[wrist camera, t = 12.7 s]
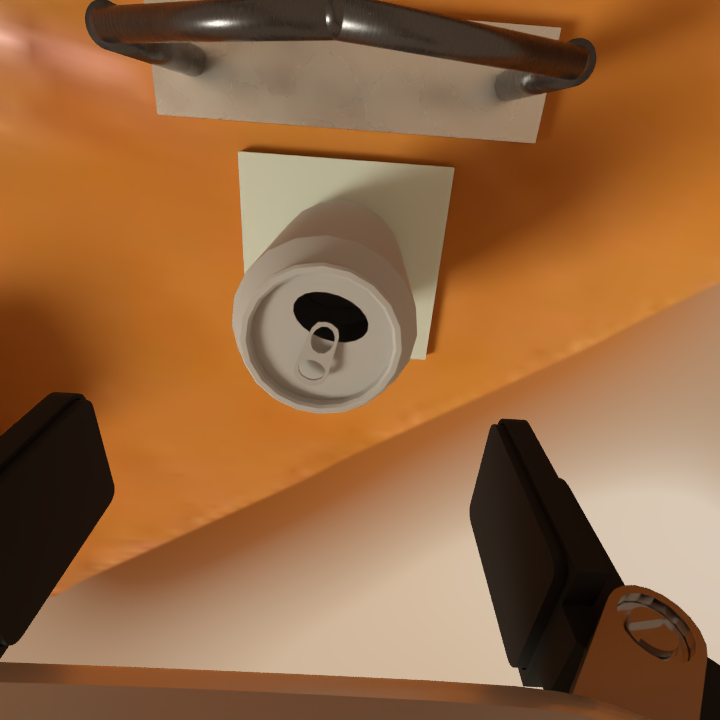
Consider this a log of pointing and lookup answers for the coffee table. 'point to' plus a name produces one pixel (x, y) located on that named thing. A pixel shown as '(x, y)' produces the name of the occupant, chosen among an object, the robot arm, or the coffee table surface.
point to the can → (327, 310)
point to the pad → (360, 186)
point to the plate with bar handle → (344, 64)
